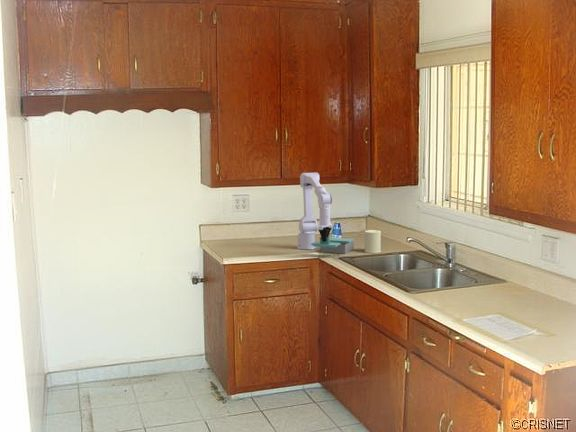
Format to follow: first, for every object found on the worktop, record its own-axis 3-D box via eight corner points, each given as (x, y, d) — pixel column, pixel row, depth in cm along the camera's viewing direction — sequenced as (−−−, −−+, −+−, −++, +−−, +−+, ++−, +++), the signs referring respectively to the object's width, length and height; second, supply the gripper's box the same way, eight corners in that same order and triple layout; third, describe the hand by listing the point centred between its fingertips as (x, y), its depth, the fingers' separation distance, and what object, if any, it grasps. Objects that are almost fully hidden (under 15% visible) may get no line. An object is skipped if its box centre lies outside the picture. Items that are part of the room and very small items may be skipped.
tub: (321, 252, 388) (321, 242, 387) (330, 247, 403) (330, 237, 402) (345, 254, 383) (345, 243, 382) (353, 249, 397) (353, 239, 396)
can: (379, 253, 384) (379, 232, 382) (362, 252, 387) (362, 231, 385) (382, 250, 393) (382, 229, 391) (366, 249, 396) (366, 228, 394)
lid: (311, 246, 376) (311, 237, 375) (316, 244, 383) (316, 235, 382) (335, 248, 370) (335, 238, 370) (340, 245, 378) (340, 236, 377)
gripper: (327, 218, 365) (327, 243, 367) (336, 214, 378) (336, 239, 380) (314, 217, 368) (314, 243, 369) (324, 214, 381) (324, 238, 383)
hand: (324, 241), depth 375 cm, fingers closed on lid
